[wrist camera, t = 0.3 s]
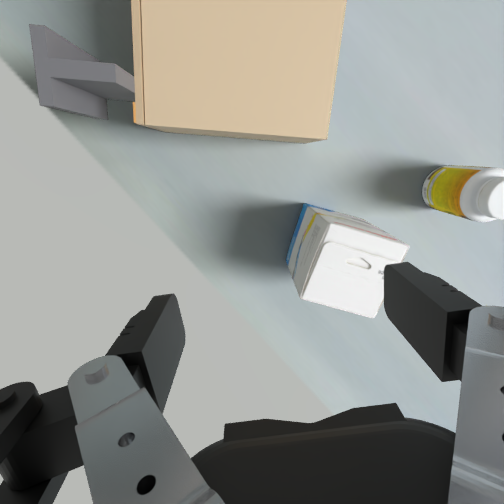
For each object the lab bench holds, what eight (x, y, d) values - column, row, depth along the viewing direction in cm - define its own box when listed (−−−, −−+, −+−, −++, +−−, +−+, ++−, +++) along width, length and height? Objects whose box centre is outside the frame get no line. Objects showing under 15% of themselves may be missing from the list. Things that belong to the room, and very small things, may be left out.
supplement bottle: (419, 212, 39) (476, 231, 29) (420, 168, 37) (481, 173, 28) (462, 206, 39) (534, 223, 29) (465, 161, 37) (543, 164, 27)
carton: (170, -86, 29) (134, -201, 20) (331, -69, 30) (370, -172, 20) (172, 132, 36) (145, 124, 26) (305, 143, 36) (327, 139, 27)
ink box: (283, 261, 41) (297, 301, 30) (303, 201, 38) (327, 220, 27) (342, 277, 42) (377, 321, 31) (365, 219, 39) (413, 245, 28)
